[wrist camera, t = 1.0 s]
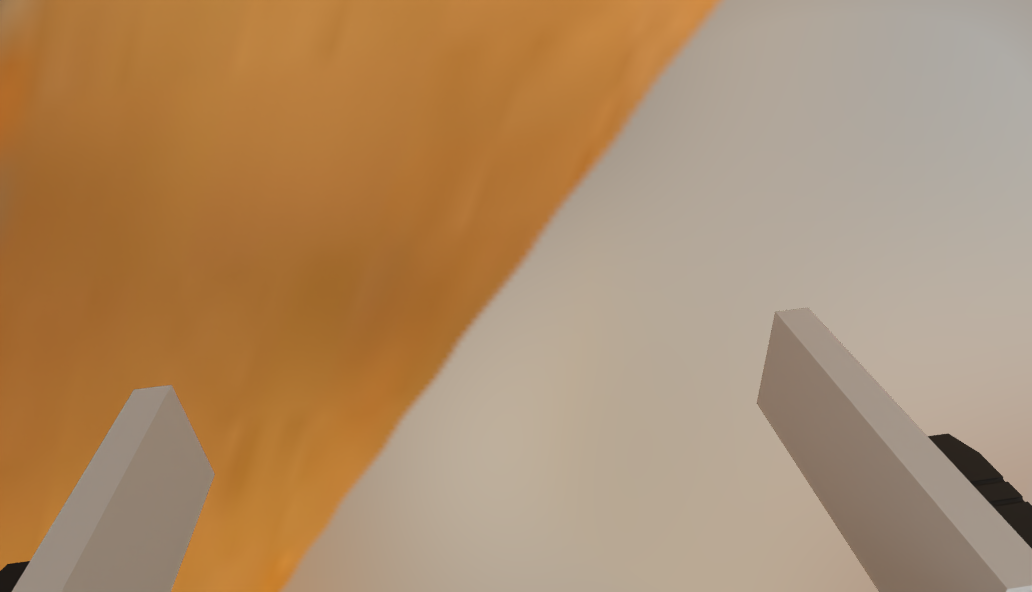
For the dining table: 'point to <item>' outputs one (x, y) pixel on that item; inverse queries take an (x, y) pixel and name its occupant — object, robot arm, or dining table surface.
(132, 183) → the dining table surface
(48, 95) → the dining table surface
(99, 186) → the dining table surface
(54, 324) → the dining table surface
